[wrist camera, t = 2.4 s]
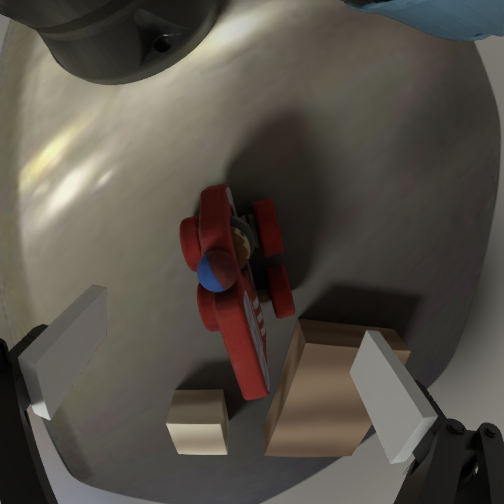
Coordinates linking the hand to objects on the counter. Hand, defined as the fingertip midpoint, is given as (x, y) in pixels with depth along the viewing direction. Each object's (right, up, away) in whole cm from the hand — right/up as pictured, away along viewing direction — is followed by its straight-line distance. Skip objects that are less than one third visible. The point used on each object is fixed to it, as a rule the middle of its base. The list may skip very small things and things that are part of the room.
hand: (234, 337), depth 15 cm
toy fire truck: (0, +4, +11) cm, 12 cm away
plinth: (+8, -10, +15) cm, 20 cm away
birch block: (-4, -12, +15) cm, 20 cm away
